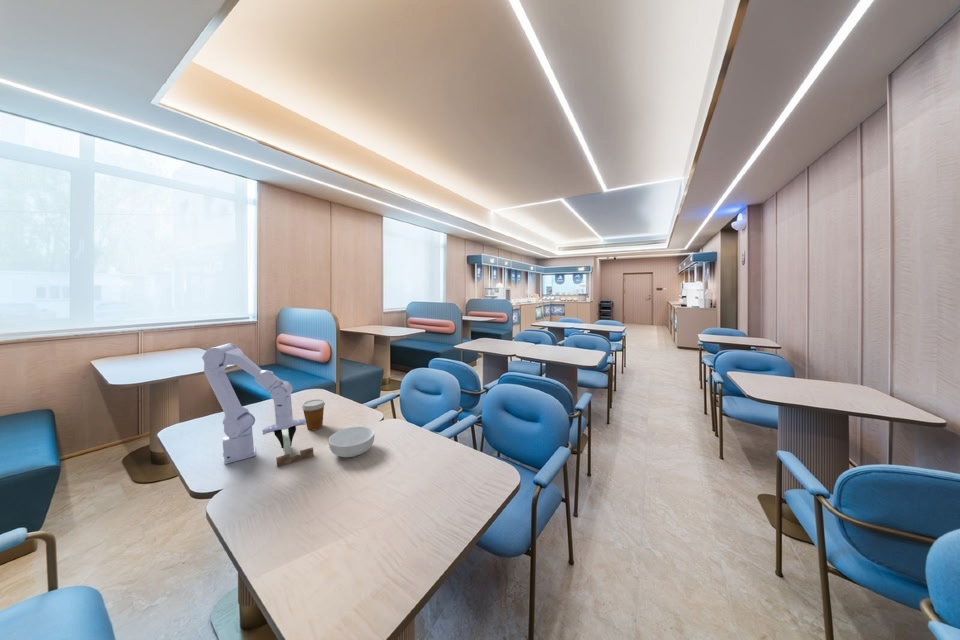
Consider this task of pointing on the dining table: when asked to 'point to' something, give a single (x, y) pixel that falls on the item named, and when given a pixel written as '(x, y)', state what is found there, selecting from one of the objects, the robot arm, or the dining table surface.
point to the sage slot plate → (286, 442)
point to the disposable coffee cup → (313, 413)
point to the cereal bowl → (351, 441)
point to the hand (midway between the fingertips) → (286, 446)
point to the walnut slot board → (294, 457)
